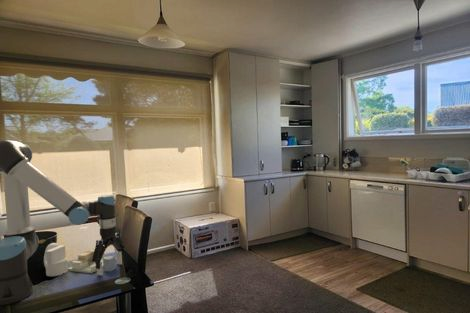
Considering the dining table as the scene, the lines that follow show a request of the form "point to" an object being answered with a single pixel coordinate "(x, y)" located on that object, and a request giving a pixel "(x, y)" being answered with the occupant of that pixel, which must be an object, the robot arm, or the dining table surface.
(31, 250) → the robot arm
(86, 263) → the jig
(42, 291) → the dining table surface
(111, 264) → the tail block
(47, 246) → the figurine
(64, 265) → the cylinder with rectangular tab
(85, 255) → the fuselage bar
